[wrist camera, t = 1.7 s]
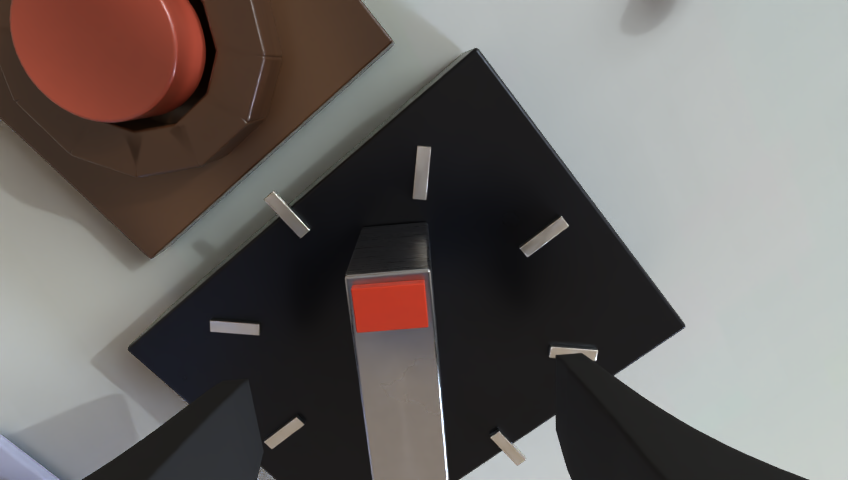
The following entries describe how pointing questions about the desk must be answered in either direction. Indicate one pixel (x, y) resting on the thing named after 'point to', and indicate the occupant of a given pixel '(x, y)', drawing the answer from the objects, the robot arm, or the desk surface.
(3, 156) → the desk surface
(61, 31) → the button
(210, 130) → the button block
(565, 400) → the robot arm
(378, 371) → the knob
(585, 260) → the dial base
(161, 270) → the desk surface
